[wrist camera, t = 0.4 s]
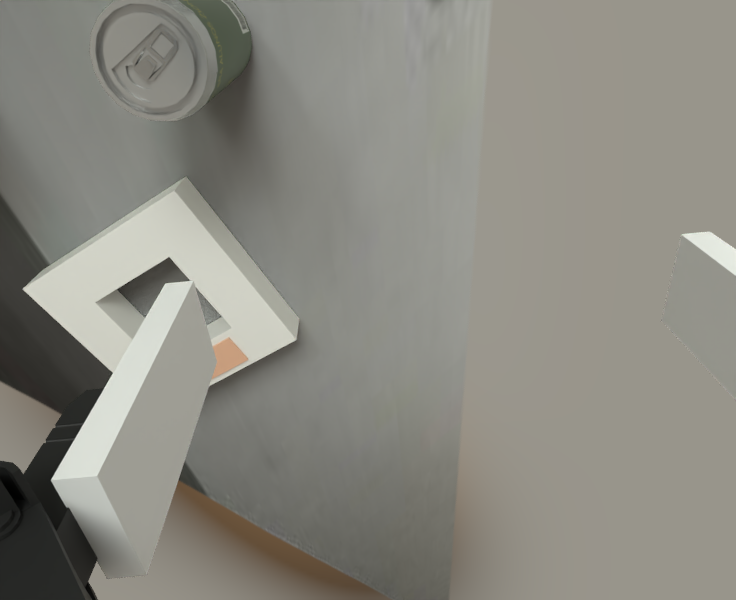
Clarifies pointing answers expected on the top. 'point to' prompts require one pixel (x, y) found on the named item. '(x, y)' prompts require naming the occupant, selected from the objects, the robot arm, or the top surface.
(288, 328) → the socket block
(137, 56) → the beer can
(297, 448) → the top surface
